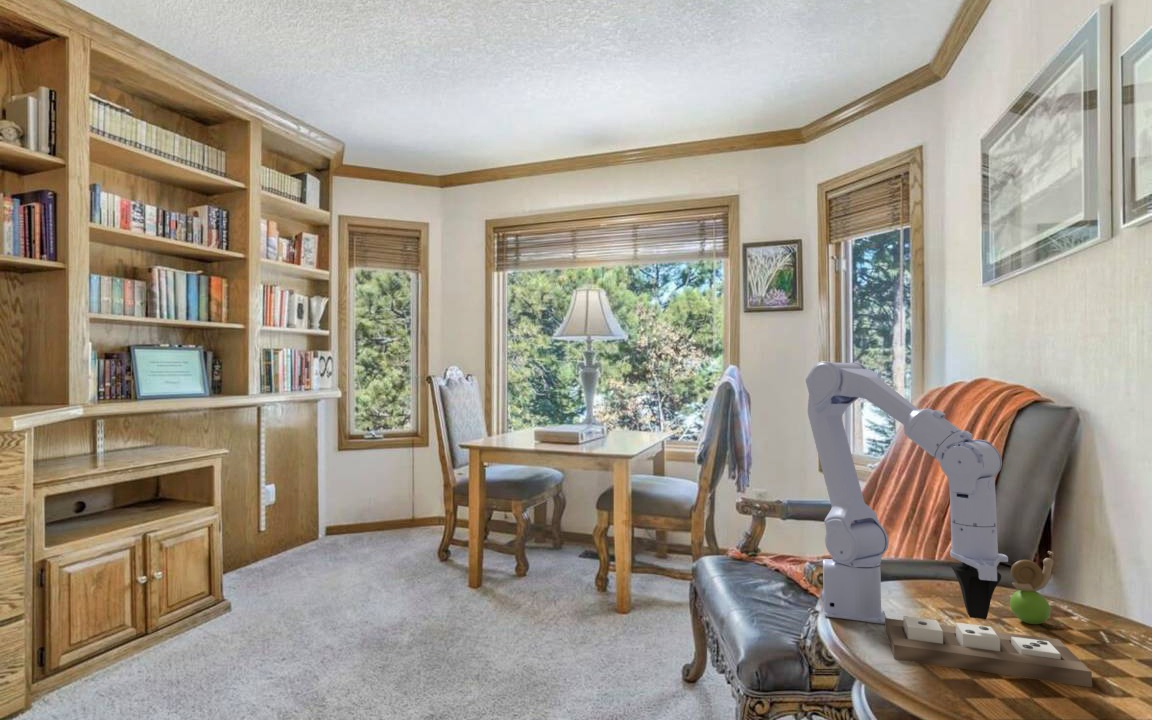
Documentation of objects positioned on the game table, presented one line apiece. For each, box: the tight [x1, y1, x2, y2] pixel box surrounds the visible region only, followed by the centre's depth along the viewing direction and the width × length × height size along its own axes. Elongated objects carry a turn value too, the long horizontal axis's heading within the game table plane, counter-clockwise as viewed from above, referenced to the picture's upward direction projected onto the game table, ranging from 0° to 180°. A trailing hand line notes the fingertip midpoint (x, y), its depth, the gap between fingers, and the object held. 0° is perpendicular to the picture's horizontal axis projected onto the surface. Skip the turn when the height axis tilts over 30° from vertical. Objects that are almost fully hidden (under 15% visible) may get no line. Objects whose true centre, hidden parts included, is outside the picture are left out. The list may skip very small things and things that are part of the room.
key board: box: [884, 617, 1093, 688], centre depth 88 cm, size 23×11×2 cm, turn 69°
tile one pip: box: [902, 616, 943, 644], centre depth 90 cm, size 4×4×3 cm
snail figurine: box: [1009, 550, 1054, 625], centre depth 100 cm, size 5×6×12 cm
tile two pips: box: [955, 622, 1000, 651], centre depth 88 cm, size 4×4×3 cm
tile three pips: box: [1011, 637, 1061, 659], centre depth 85 cm, size 4×4×3 cm
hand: (976, 617), depth 88 cm, fingers closed
